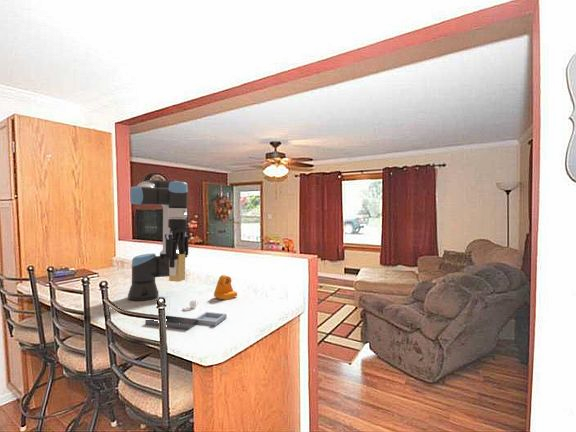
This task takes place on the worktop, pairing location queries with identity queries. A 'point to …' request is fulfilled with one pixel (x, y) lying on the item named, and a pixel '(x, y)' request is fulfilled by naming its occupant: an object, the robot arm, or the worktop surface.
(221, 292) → the bracket
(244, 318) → the worktop surface
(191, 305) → the teacup and saucer
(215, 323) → the tray
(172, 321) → the dark grey shallow tray
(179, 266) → the tan rectangular block
